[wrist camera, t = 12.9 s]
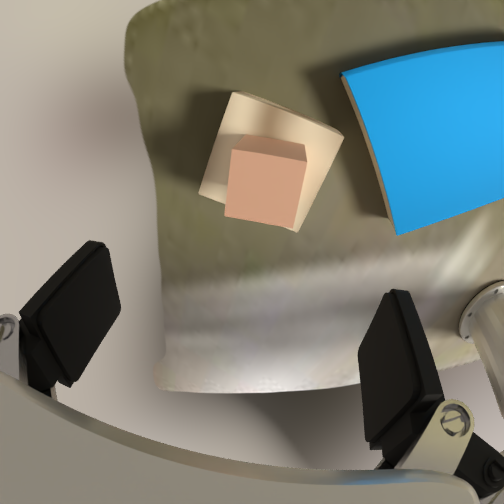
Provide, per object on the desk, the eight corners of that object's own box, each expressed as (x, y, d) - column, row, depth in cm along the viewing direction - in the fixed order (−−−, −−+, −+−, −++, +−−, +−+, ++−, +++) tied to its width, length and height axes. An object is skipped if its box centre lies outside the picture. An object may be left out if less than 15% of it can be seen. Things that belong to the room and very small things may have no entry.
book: (556, 177, 20) (398, 239, 28) (537, 165, 23) (387, 221, 31) (532, 37, 12) (342, 72, 21) (511, 38, 16) (335, 74, 24)
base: (336, 129, 27) (344, 137, 23) (297, 211, 32) (297, 232, 28) (242, 91, 26) (232, 92, 22) (211, 177, 32) (198, 193, 27)
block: (304, 144, 24) (307, 162, 19) (293, 197, 26) (293, 228, 21) (245, 134, 24) (232, 149, 19) (238, 188, 27) (224, 216, 22)
